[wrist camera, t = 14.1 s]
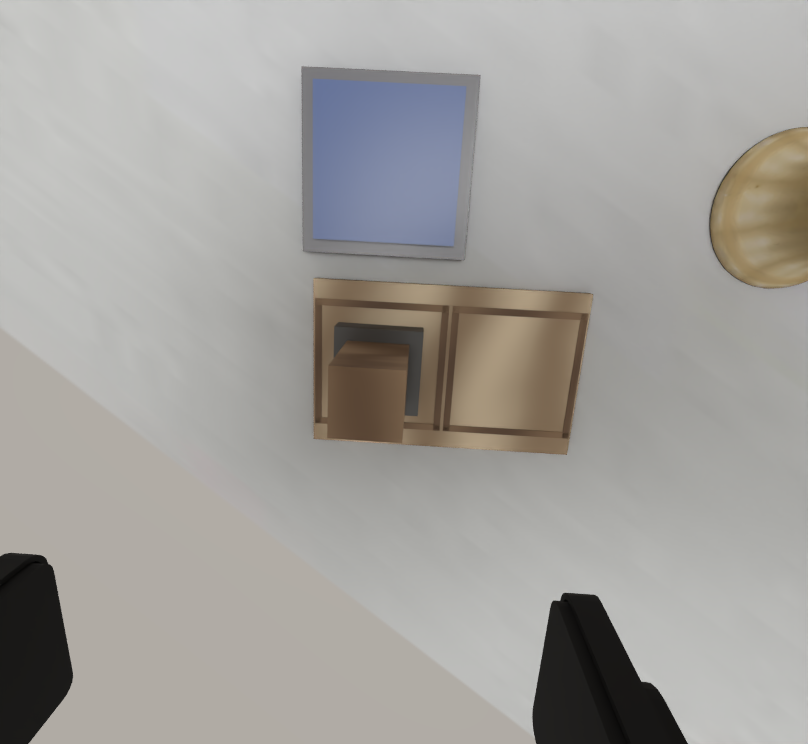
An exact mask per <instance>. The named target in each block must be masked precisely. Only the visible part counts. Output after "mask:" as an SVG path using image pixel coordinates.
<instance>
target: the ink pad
mask: <svg viewBox="0 0 808 744" xmlns="http://www.w3.org/2000/svg"><path fill="white" fill-rule="evenodd" d="M480 76H481V75H468V74H447V73H427V72H406V71H386V70H365V69H345V68H325V67H304V66H302V189H303V251H309V252H327V253H345V254H363V255H381V256H399V257H417V258H435V259H453V260H465V248H466V237H467V225H468V214H469V202H470V191H471V179H472V168H473V156H474V145H475V133H476V122H477V110H478V99H479V87H480Z"/></svg>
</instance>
